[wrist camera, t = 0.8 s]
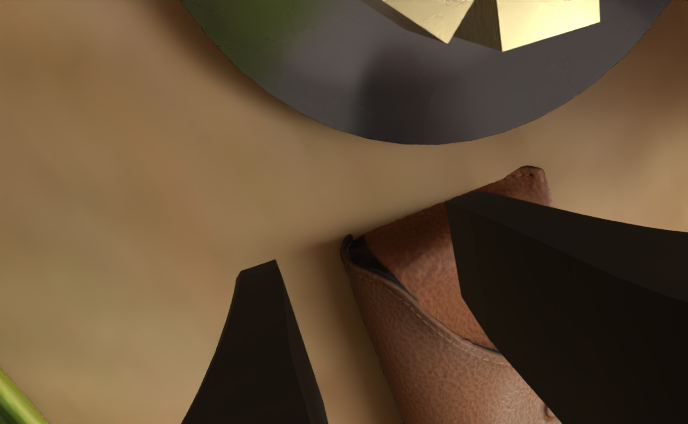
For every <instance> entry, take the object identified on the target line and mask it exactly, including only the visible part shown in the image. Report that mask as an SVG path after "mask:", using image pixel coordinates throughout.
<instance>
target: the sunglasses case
mask: <svg viewBox="0 0 688 424" xmlns="http://www.w3.org/2000/svg"><path fill="white" fill-rule="evenodd" d="M474 191H483V192H489V193H495V194H499V195H504V196H508V197H512V198H516V199H520V200H524V201H528V202H532V203H536V204H540V205H544V206H549V207H552V200H551V195H550V190H549V188H548V184H547V180H546V178H545V174H544V170H543V169H541V168H537V167H533V166H522V167H520V168H519V169H517V170H515V171H514V172H512V173H511V174H509V175H507V176H506V177H505V178H504V179H500V180H499V181H497V182H495V183H491V184H488V185H486V186H483V187H481V188H479V189H476V190H473V191H470V192H469V193H471V192H474ZM469 193H466V194H469ZM466 194H463V195H466ZM463 195H461V196H463ZM457 197H460V196H457ZM457 197H455V198H457ZM452 199H454V198H452ZM450 200H451V199H450ZM340 253H341V254H340V255H341V259H342V261H343V264H344V265H345V271H346V273H347V275H348V277H349V280H350V283H351V286H352V289H353V292H354V295H355V298H356V300H357V303H358V305H359V308H360V311H361V314H362V316H363V320H364V323H365V325H366V326H367V329H368V331H369V334H370V337H371V340H372V342H373V345H374V347H375V350H376V352H377V355H378V357H379V360H380V363H381V366H382V368H383V372H384V373H385V376H386V379H387V381H388V384H389V386H390V389H391V392H392V394H393V397H394V399H395V402H396V405H397V407H398V410H399V412H400V414H401V417H402V420H403V422H404V424H562V423H561V422H560V421H559V420H558V418H557V417H556V416H555V415H554V414H553V413H552V412H551V410H550V409H549V408H548V407H547V406H546V405H545V404H544V402H543V401H542V400H541V399H540V398H539V397H538V396H537V394H536V393H535V392H534V391H533V390H532V389H531V388H530V386H529V385H528V384H527V383H526V382H525V381H524V380H523V378H522V377H521V376H520V375H519V374H518V373H517V372H516V370H515V369H514V368H513V367H512V366H511V365H510V363H509V362H508V361H507V360H506V359H505V358H504V356H503V355H502V354H501V353H500V352H499V351H498V349H497V348H496V347H495V346H494V345H493V343H492V342H491V341H490V340H489V339H488V337H487V336H486V334H485V333H484V331H483V330H482V328H481V327H480V325H479V324H478V322H477V321H476V319H475V317H474V316H473V314H472V313H471V311H470V310H469V308H468V306H467V305H466V303H465V302H464V300H463V298H462V297H461V291H460V285H459V280H458V274H457V268H456V263H455V257H454V251H453V245H452V240H451V234H450V228H449V222H448V217H447V211H446V205H445V202H444V203H440V204H437V205H435V206H433V207H431V208H427V209H424V210H422V211H420V212H417V213H415V214H412V215H408V216H406V217H404V218H402V219H398V220H396V221H394V222H392V223H390V224H388V225H384V226H382V227H379V228H377V229H374V230H373V231H371V232H368V233H366V234H364V235H362V236H361V237H360V238H358V239H357V240H354V239H353V236H352V235H351V234H349V235H347V236H346V238H345V239H344V241H343V243H342V246H341V248H340Z"/></svg>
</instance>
